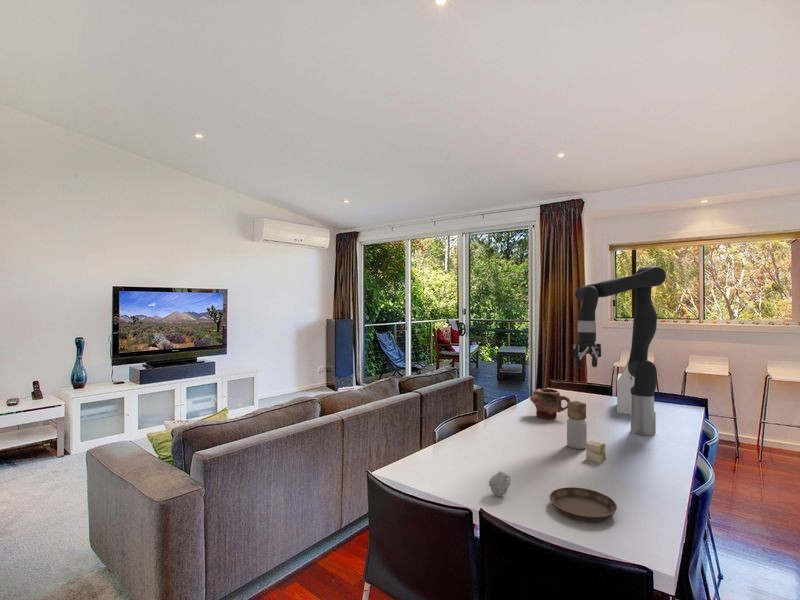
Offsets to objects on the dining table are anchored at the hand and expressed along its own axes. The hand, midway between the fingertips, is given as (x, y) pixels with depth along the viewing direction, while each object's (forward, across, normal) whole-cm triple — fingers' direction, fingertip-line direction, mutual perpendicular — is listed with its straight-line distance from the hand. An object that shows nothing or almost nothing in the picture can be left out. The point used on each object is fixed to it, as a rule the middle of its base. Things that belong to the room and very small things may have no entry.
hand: (586, 367), depth 188 cm
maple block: (+30, +18, +23) cm, 42 cm away
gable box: (+30, -56, -26) cm, 69 cm away
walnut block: (+18, +15, +10) cm, 26 cm away
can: (+30, +15, +10) cm, 35 cm away
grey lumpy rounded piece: (+30, +69, +36) cm, 84 cm away
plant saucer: (+31, +52, +52) cm, 80 cm away
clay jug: (+30, -4, -29) cm, 42 cm away
